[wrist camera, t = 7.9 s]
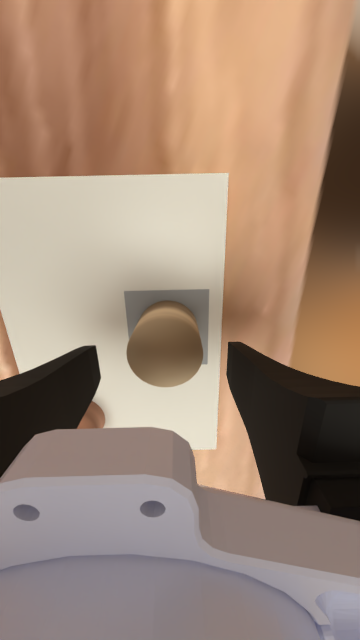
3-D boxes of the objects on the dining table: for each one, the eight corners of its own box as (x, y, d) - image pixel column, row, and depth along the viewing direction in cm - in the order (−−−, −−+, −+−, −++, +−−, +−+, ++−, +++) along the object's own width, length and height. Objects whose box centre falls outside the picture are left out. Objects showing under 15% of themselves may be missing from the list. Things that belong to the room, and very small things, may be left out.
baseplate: (-27, 182, 14) (-40, 178, 13) (225, 176, 14) (228, 172, 13) (48, 445, 21) (43, 453, 20) (214, 441, 21) (216, 449, 20)
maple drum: (127, 315, 16) (112, 337, 12) (183, 290, 15) (184, 306, 12) (154, 363, 17) (148, 397, 14) (206, 342, 17) (214, 371, 13)
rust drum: (43, 407, 19) (9, 449, 15) (87, 389, 18) (64, 427, 14) (72, 443, 20) (47, 489, 16) (114, 427, 19) (99, 471, 16)
